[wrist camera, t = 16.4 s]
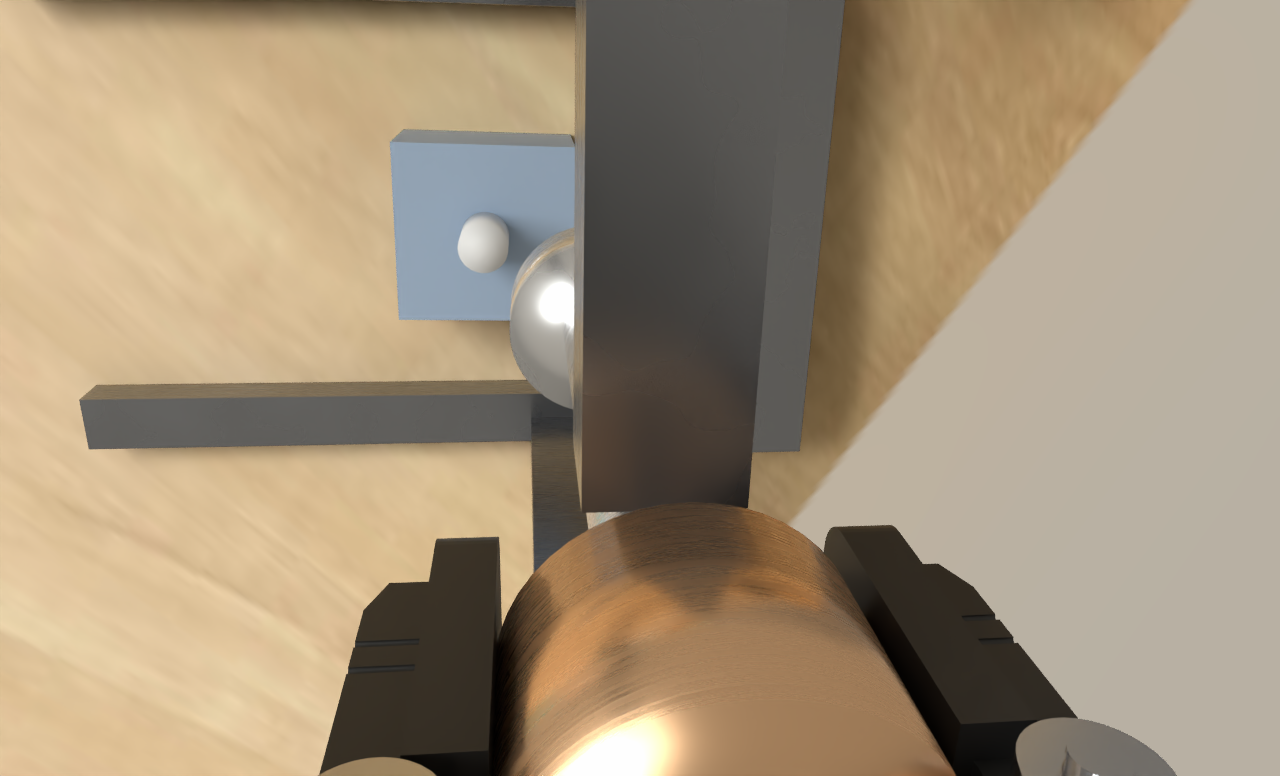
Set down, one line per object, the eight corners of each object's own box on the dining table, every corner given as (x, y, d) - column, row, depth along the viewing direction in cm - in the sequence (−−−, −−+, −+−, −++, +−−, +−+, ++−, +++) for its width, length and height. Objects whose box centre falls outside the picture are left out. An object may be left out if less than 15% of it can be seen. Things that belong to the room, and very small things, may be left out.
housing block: (404, 128, 34) (381, 149, 29) (570, 134, 35) (579, 155, 29) (411, 289, 36) (391, 337, 31) (567, 291, 37) (575, 338, 32)
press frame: (-5, -150, 30) (-2294, -896, 6) (828, -108, 33) (1670, -465, 9) (114, 479, 38) (-619, 1298, 13) (776, 463, 41) (1142, 1104, 17)
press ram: (508, 224, 22) (474, 715, 7) (676, 226, 23) (1022, 686, 7) (512, 382, 24) (490, 1098, 8) (669, 380, 24) (942, 1053, 8)
